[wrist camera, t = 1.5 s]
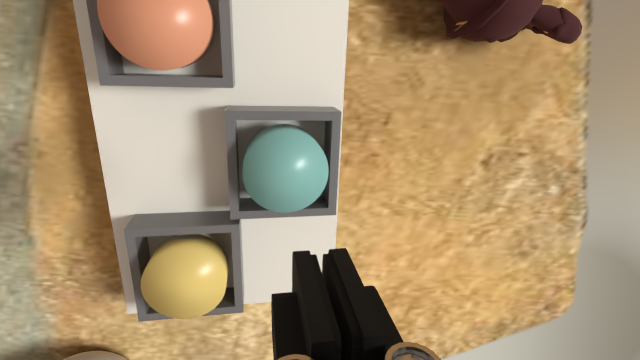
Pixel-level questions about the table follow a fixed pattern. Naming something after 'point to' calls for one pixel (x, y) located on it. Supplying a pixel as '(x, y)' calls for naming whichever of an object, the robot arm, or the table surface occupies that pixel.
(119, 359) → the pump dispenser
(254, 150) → the button teal
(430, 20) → the table surface
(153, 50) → the button terracotta
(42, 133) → the table surface
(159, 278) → the button ochre
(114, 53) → the button panel
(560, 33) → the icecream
